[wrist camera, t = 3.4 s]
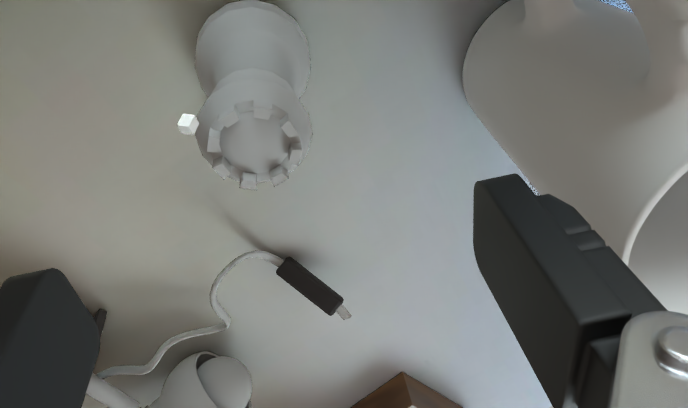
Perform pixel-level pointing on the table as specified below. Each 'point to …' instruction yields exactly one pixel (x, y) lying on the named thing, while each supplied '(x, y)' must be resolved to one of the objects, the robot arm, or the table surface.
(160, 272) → the table surface
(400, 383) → the step rack
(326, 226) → the table surface
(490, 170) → the table surface
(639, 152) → the mug
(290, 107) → the rook chess piece
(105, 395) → the clip-on lamp
